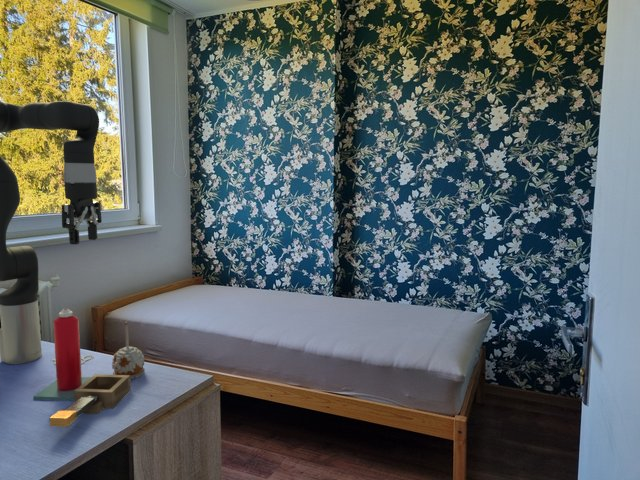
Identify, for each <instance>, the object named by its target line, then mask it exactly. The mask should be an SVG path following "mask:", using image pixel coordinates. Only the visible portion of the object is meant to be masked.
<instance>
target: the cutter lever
mask: <svg viewBox="0 0 640 480" xmlns="http://www.w3.org/2000/svg"><path fill="white" fill-rule="evenodd" d="M98 399H99V397H98V396H81V398H80V399H79V400H77V401H76V402H74V403H72V404H71V405H69V406H68V407H67V408H65V409H64V410H61V409H59V410H58V411H56V413H54V414H52V415H51V416H50V417H49V426H50V427H61V428H62V427H63V428H64V427H65V428H68V427H69V426H71V425H72V424H73V423H74V422H76V420H77V418H78V417H80V416H81V415H82V414H84V413H83V412H84V411H85V410H87V409H88V408H89V407H90V406H91V405H93V404H94V402H97V401H98Z"/></svg>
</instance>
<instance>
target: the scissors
mask: <svg viewBox="0 0 640 480" xmlns="http://www.w3.org/2000/svg"><path fill="white" fill-rule="evenodd" d="M87 357H90V358H87ZM92 359H94V355H92V354H88V355H84V356H83V357H81V365H83V364H85V363H86V362H87V361H90V360H92ZM51 361H52V362H53V363H54V365H55V366H56V359H55V358H53V359H51ZM81 375H82V377H84V376H83V374H82V373H81Z"/></svg>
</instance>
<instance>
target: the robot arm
mask: <svg viewBox="0 0 640 480" xmlns="http://www.w3.org/2000/svg"><path fill="white" fill-rule="evenodd" d="M99 128H100V118H99V114H98V112H97V110H96V109H95V108H94V107H93V106H92V105H89V104H85V103H79V102H75V101H68V100H56V101H52V102H41V101H40V102H38V101H37V102H29V103H26V104H24V105H19V104H18V105H17V104H13V103H9V102H7V101H3V100H0V133H9V132H13V131H18V130H24V129H26V130H27V129H31V130H32V129H33V130H42V131H46V130H47V131H58V130H67V131H75V132H76V134H75V137H74V139H69V140H65V141H64V142H63V146H62V147H63V149H62V150H63V163H64V164H63V182H64V197H65V199H67V200H69V204H66V203H65V204H61V227H62V228H63V229H67V230H68V240H69V244H70V245H80V230H79V228H80V226H81V225H80V224H82V223H83V222H84V221H85V223H86V225H87V238H88V240H90V241H91V240H92V241H96V240H98V226H99V224H101V223H102V210H101V209H102V208H101V202H100V201H94V200H96V199H97V198H98V185H97V183H98V182H97V171H96V170H97V169H96V165H95V151H94V149H95V145H96V142H97V137H98V136H97V135H98V132H99ZM19 188H20V187H19V181H18V178H17V175H16V174H15V171H14V170H13V169H12V167H11V166H10V164H9V163H8V162H7V161H6V160H5V159H4V157H3V156H2V155H1V154H0V282H6V281H12V280H13V281H14V280H16V282H15V283H14V284H13V285H12V286H11V287H9V288H8V289H5V290H4V291H2V292H0V323H1V324H0V325H1V328H0V362H1V363H2V362H4V363H6V364H7V365H8V364H9V365H22V364H25V363H26V364H27V363H30V362H33V361H36V360H38V359H40V358H41V357H42V355H43V354H42V351H43V350H42V339H41V338H42V336H41V326H40V312H39V300H38V293H39V291H40V290H39V288H40V286H39V258H38V256H37V253H36V250H35V249H34V248H33V247H32V246H30V245H20V246H19V245H18V246H10V247H7V230H8V228H9V226H10V223H11V222H12V219H13V217H14V215H15V214H16V213H17V210H18V208H19V205H20V203H21V194H20V193H21V192H20V189H19ZM67 221H68V222H67Z"/></svg>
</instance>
